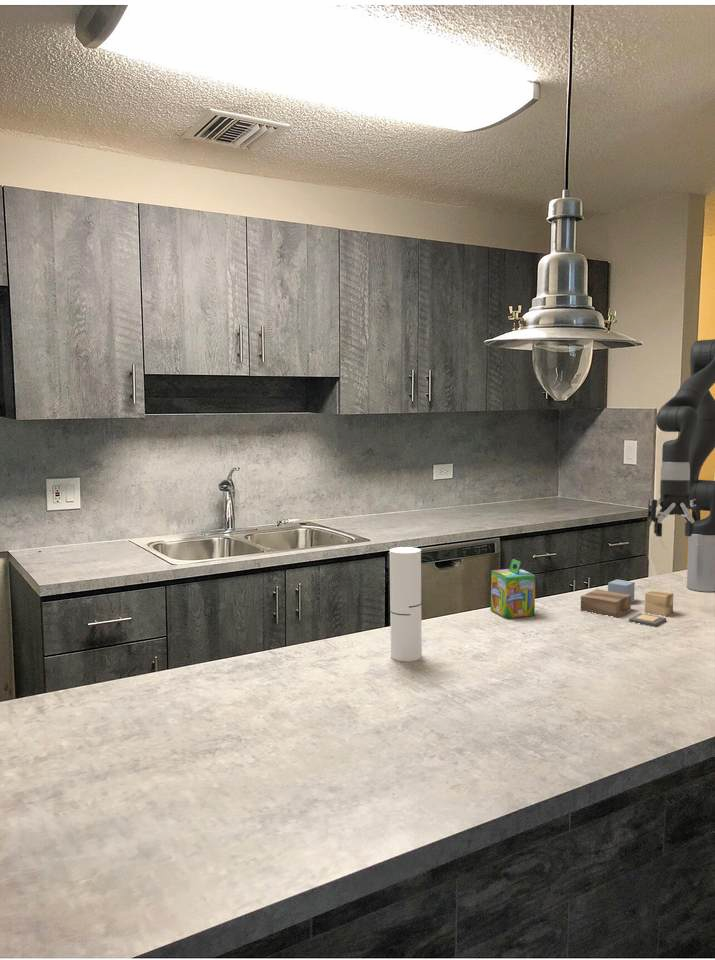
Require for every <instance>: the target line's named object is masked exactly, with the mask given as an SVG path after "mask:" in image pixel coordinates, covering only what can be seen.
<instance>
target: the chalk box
mask: <svg viewBox="0 0 715 960" xmlns="http://www.w3.org/2000/svg"><path fill="white" fill-rule="evenodd" d="M515 565H516V568H514V566H515ZM521 566H522V562H521V561H520V560H517V559H514V558H513V559H512V560H511V561H510V566H509V568H506V569H494V570H492V569H491V576H490V577H491V578H490V580H491V582H490V583H491V585H490V611H492V612H494V613H495V614H498V615H499V616H501V617H502V618H503V619H505V620H507V619H513V618H515V619H516V618H525V617H526V618H527V617H534V616H536V615H535V614H536V613H535V611H536V609H535V608H536V607H535V606H536V605H535V604H536V602H535V601H536V580H537V579H536V575H535V574H534V573H532V572H529V571H527V570H525V569H523V568H521Z"/></svg>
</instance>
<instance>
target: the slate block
mask: <svg viewBox="0 0 715 960" xmlns="http://www.w3.org/2000/svg"><path fill="white" fill-rule="evenodd" d="M635 587H636V586H635V581H629V580H623V579H614V580H612V581H609V582H608V583H607V591H611V592H617V593H623V594H629V595H631V601H632V602H634V601H635V589H636V588H635ZM633 600H634V601H633Z"/></svg>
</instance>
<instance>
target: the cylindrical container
mask: <svg viewBox="0 0 715 960" xmlns="http://www.w3.org/2000/svg"><path fill="white" fill-rule="evenodd" d="M389 595H390V596H389V599H390V600H389V604H390V607H389V608H390V609H389V610H390V619H389V620H390V657H392V658H391V659H393V660H394V659H395V661H397V662H398V661H399V662H415V661H419V660H420V659H421V658H422V655H423V653H422V652H423V651H422V650H423V649H422V644H423V643H422V640H423V639H422V549H421V548H418V547H413V546H402V547H401V546H399V547H394V548H390V549H389Z"/></svg>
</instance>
